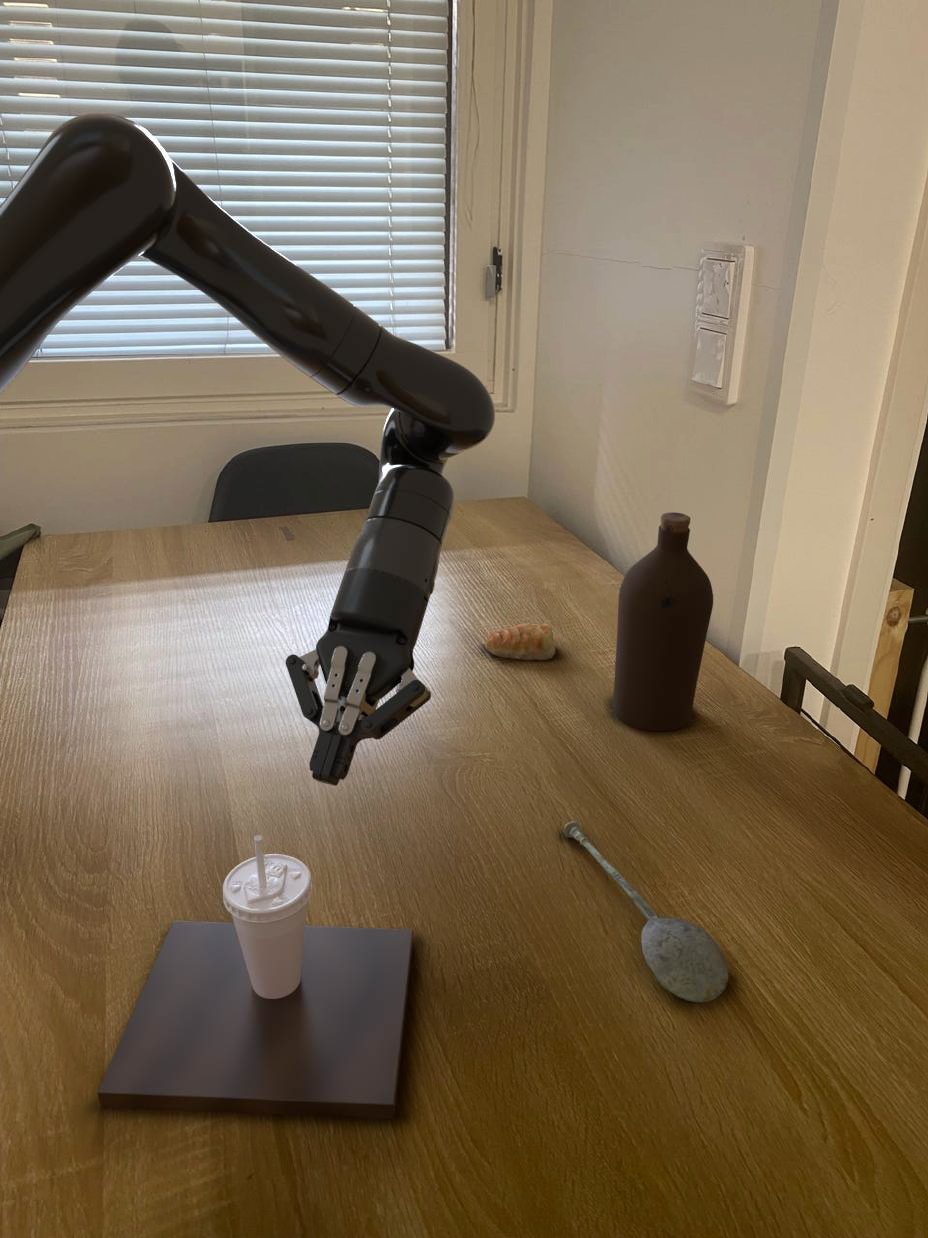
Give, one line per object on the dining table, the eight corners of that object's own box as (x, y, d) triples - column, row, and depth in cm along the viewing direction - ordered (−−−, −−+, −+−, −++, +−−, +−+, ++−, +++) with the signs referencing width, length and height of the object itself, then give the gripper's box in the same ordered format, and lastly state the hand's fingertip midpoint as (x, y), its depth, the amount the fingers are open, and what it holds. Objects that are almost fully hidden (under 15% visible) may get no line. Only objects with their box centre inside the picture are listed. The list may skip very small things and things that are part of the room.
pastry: (489, 663, 121) (490, 638, 119) (481, 641, 127) (482, 616, 126) (557, 660, 122) (559, 635, 121) (547, 639, 128) (548, 614, 127)
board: (100, 1108, 62) (97, 1093, 61) (174, 934, 76) (172, 920, 76) (394, 1120, 61) (393, 1105, 61) (413, 943, 76) (413, 929, 75)
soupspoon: (672, 1021, 70) (740, 998, 73) (680, 989, 69) (749, 967, 71) (540, 841, 88) (599, 827, 90) (545, 813, 86) (604, 800, 89)
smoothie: (216, 997, 68) (196, 848, 63) (264, 939, 74) (250, 797, 68) (289, 1025, 66) (276, 873, 60) (333, 963, 72) (325, 818, 66)
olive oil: (713, 727, 108) (745, 527, 97) (633, 742, 104) (657, 536, 94) (667, 685, 117) (691, 498, 106) (592, 697, 114) (610, 505, 103)
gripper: (301, 553, 76) (230, 753, 70) (449, 577, 72) (385, 792, 66) (334, 589, 82) (271, 773, 77) (470, 613, 78) (414, 810, 73)
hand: (324, 782), depth 72 cm, fingers closed
